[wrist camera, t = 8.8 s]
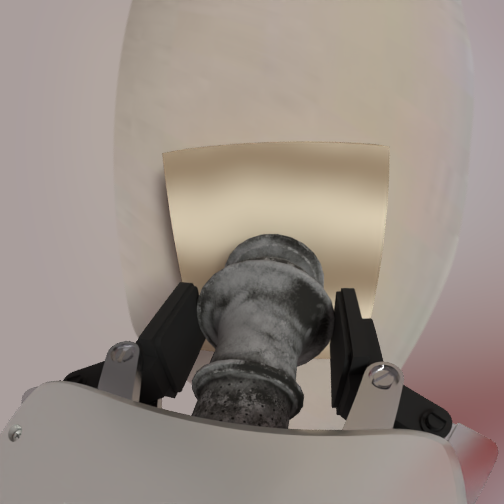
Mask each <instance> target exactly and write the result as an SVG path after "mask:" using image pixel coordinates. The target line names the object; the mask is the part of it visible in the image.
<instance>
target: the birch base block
mask: <svg viewBox="0 0 504 504" xmlns="http://www.w3.org/2000/svg"><path fill="white" fill-rule="evenodd" d="M162 155H163V164H164V173H165V181H166V189H167V196H168V203H169V210H170V216H171V223H172V229H173V235H174V241H175V247H176V252H177V258H178V263H179V268H180V273H181V278H182V282H186V283H193V284H194V286H196V287H197V288H198V292H199V295H200V292H201V290H202V287H203V286H204V285H205V283H206V282H207V281H208V280H209V279H210V278H211V277H212V276H213V274H215V273H217V272H218V271H220V270H222V269H223V268H225V264H226V262H227V260H228V258H229V255H230V254H231V253H232V251H233V250H234V249H235V248H236V247H237V246H238V245H239V244H241V243H242V242H244V241H246V240H247V239H249V238H252V237H255V236H258V235H262V234H280V235H284V236H289V237H292V238H294V239H296V240H298V241H300V242H302V243H304V244H305V245H306V246H307V247H308V248H309V249H310V250H312V251H313V252H314V254H315V255H316V257H317V258H318V260H319V261H320V263H321V266H322V270H323V273H324V290H325V291H326V293H327V294H328V296H329V297H330V299H331V301H332V305H333V309H334V306H335V298H336V292H337V291H341V288H354V289H355V292H356V296H357V300H358V304H359V308H360V312H361V316H362V318H371V314H372V309H373V304H374V299H375V294H376V288H377V283H378V277H379V271H380V264H381V257H382V250H383V242H384V234H385V225H386V214H387V201H388V185H389V147H388V146H382V145H376V144H364V143H346V142H263V143H245V144H230V145H219V146H208V147H199V148H190V149H183V150H177V151H172V152H167V153H162ZM201 350H206V351H214V352H215V348H214V347H213V346H212V345H211V344H210V343H209V342H208V341H207V339H205V342H204V344H203V346H202V348H201ZM315 359H330V342H329V344H328V345H327V346H326V347H325V349H324V350H323V351H322V352H321V353H320V354H319V355H318V356H316V357H315Z"/></svg>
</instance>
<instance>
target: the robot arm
mask: <svg viewBox="0 0 504 504" xmlns="http://www.w3.org/2000/svg"><path fill="white" fill-rule="evenodd" d="M198 297H199V292H198V288H197V287H196V286H194V284H193V283H186V282H180V283H179V284H178V286H177V287H176V288H175V290H174V291H173V292H172V293H171V295H170V296H169V297H168V299H167V300H166V301H165V303H164V304H163V305H162V307H161V308H160V309H159V311H158V312H157V313H156V315H155V316H154V317H153V319H152V320H151V321H150V323H149V324H148V326H147V327H146V328H145V330H144V331H143V332H142V334H141V335H140V336H139V339H138V340H137V341H136V343H134V342H130V341H124V342H120V343H117V344H116V345H114V346H112V347H111V348H110V349H109V351H108V353H107V356H106V359H105V361H103V362H100V363H98V364H95V365H92V366H89V367H86V368H83V369H80V370H77V371H74V372H72V373H70V374H69V375H67V376H66V377H65V379H64V380H63V381H61V380H60V381H51V382H46V383H44V384H42V385H40V386H38V387H34V388H31V389H29V390H27V391H26V392H25V393H24V395H23V397H22V404H21V406H20V407H19V408H18V410H17V411H16V412H15V414H14V415H13V416H12V418H11V419H10V420H9V422H8V423H7V425H6V426H5V428H4V430H3V431H2V433H1V434H0V504H475V502H476V500H477V498H478V497H479V495H480V493H481V491H482V489H483V487H484V486H485V483H486V481H487V480H488V477H489V475H490V473H491V471H492V469H493V467H494V464H495V462H496V460H497V456H498V447H497V445H496V443H495V442H494V441H492V440H491V439H489V438H487V437H485V436H483V435H481V434H479V433H477V432H475V431H473V430H471V429H470V428H468V427H466V426H464V425H462V424H460V423H458V424H457V425H455V424H454V423H452V419H451V416H450V415H449V413H448V412H447V411H446V410H444V409H443V408H441V407H440V406H438V405H436V404H434V403H433V402H431V401H429V400H428V399H426V398H424V397H423V396H421V395H419V394H418V393H416V392H414V391H412V390H411V389H409V388H408V387H406V386H404V385H403V381H404V376H403V373H402V371H401V370H400V369H399V367H397V366H396V365H394V364H392V363H389V362H383V358H382V354H381V350H380V346H379V342H378V338H377V334H376V331H375V327H374V323H373V320H372V319H371V318H362V316H361V312H360V308H359V304H358V300H357V296H356V292H355V289H354V288H341V291H337V292H336V298H335V306H334V312H335V322H334V329H333V335H332V337H331V339H330V364H331V397H332V408H336V411H337V415H341V417H342V418H344V419H345V420H346V422H345V424H344V427H343V429H342V430H301V429H282V428H270V427H259V426H250V425H242V424H235V423H228V422H222V421H216V420H210V419H205V418H200V417H195V416H190V415H186V414H181V413H177V412H173V411H168V410H165V409H162V398H163V397H164V396H167V397H171V398H175V397H176V395H177V393H178V392H181V391H182V388H183V387H184V385H185V382H186V380H187V378H188V376H189V374H190V372H191V370H192V367H193V365H194V363H195V361H196V359H197V357H198V354H199V352H200V350H201V348H202V346H203V344H204V342H205V339H206V338H205V336H204V334H203V332H202V331H201V329H200V326H199V322H198V318H197V299H198Z"/></svg>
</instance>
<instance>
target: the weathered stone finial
mask: <svg viewBox="0 0 504 504" xmlns="http://www.w3.org/2000/svg"><path fill="white" fill-rule="evenodd" d="M197 318H198V322H199V326H200V329H201V331H202V332H203V334H204V336H205V338H206V339H207V341H208V342H209V343H210V344H211V345H212V346H213V347H214V348H215V352H214V354H213V357H212V359H211V362H210V363H209V364H206V365H204V366H203V367H202V368H200V369H199V370H198V371H197V372H196V374H195V376H194V378H193V380H192V390H193V392H194V394H195V397H196V398H197V400H198V401H197V403H196V406H195V408H194V411H193V413H192V416H195V417H200V418H205V419H210V420H216V421H222V422H228V423H235V424H242V425H250V426H259V427H270V428H282V429H288V425H289V420H290V419H292V418H293V417H294V416H296V415H297V414H298V413H299V412H300V410H301V408H302V407H303V400H304V395H303V392H302V390H301V387H300V386H299V385H298V384H297V383H296V370H297V366H300V365H303V364H306V363H307V362H309V361H310V360H312V359H313V358H315V357H316V356H318V355H319V354H320V353H321V352H322V351H323V350H324V349H325V347H326V346H327V345H328V344H329V342H330V339H331V337H332V335H333V329H334V322H335V312H334V309H333V305H332V301H331V299H330V297H329V296H328V294H327V293H326V291H325V290H324V273H323V270H322V266H321V263H320V261H319V260H318V258H317V257H316V255H315V254H314V252H313V251H312V250H310V249H309V248H308V247H307V246H306V245H305V244H304V243H302V242H300V241H298V240H296V239H294V238H292V237H289V236H284V235H280V234H262V235H258V236H255V237H252V238H249V239H247V240H246V241H244V242H242V243H241V244H239V245H238V246H237V247H236V248H235V249H234V250H233V251H232V253H231V254H230V255H229V258H228V260H227V262H226V264H225V268H223V269H222V270H220V271H218V272H217V273H215V274H213V276H212V277H211V278H210V279H209V280H208V281H207V282H206V283H205V285H204V286H203V287H202V290H201V292H200V295H199V297H198V299H197Z"/></svg>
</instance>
